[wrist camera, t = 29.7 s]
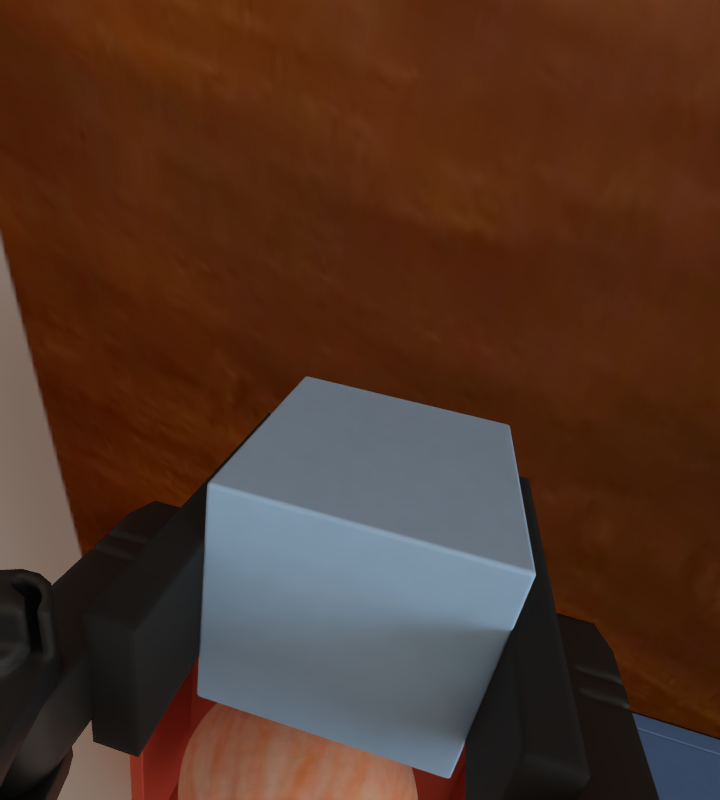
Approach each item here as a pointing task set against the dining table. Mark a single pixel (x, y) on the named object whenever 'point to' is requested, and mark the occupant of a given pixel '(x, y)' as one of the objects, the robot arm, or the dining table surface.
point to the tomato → (282, 764)
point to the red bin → (169, 740)
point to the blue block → (364, 571)
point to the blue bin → (680, 760)
